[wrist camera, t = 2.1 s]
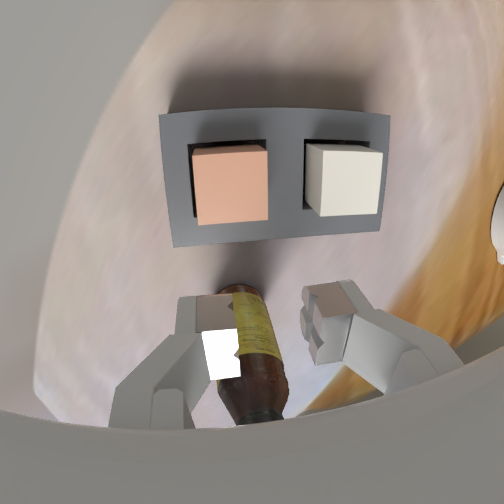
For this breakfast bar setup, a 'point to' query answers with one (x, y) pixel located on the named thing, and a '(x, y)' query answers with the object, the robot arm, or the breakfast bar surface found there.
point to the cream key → (342, 179)
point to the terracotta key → (230, 183)
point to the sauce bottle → (254, 363)
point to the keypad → (278, 163)
